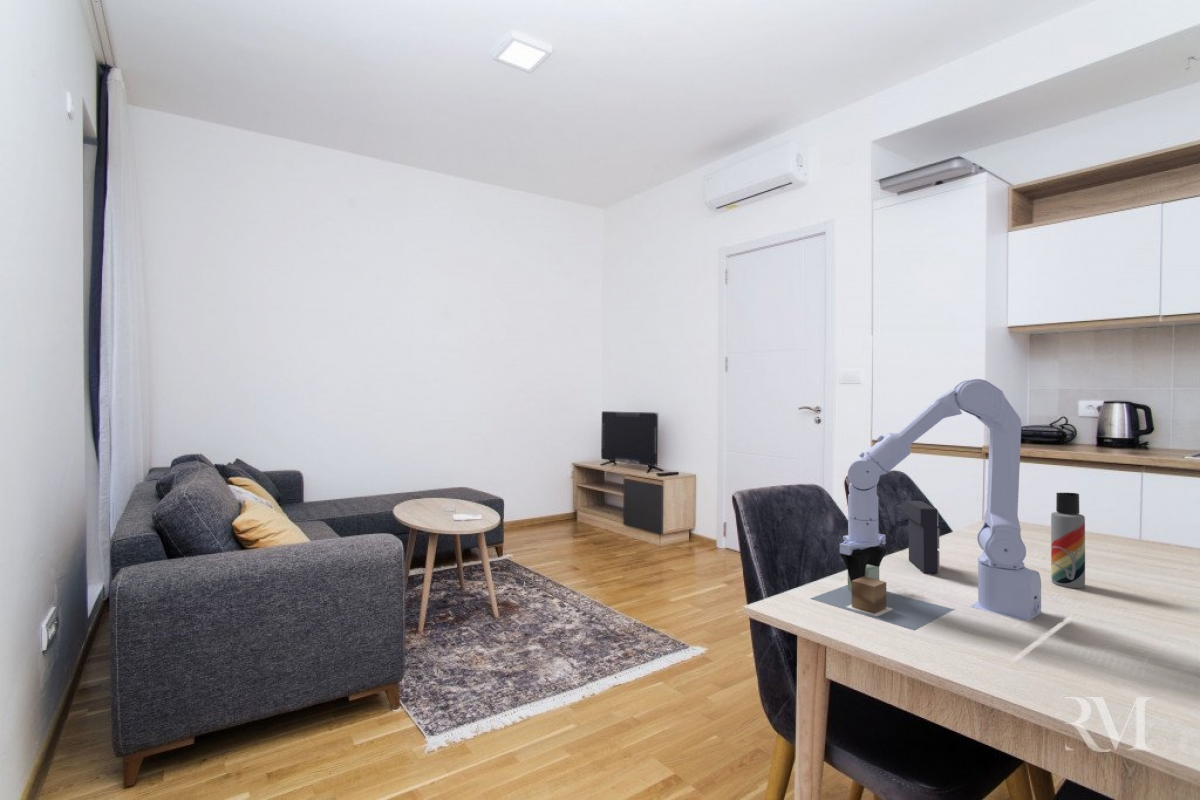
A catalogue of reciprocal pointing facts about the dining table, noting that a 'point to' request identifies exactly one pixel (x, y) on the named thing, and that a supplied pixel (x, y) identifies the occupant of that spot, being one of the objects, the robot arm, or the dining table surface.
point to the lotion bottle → (1068, 542)
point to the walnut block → (869, 594)
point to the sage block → (867, 574)
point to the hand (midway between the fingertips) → (863, 583)
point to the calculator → (923, 536)
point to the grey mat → (889, 608)
